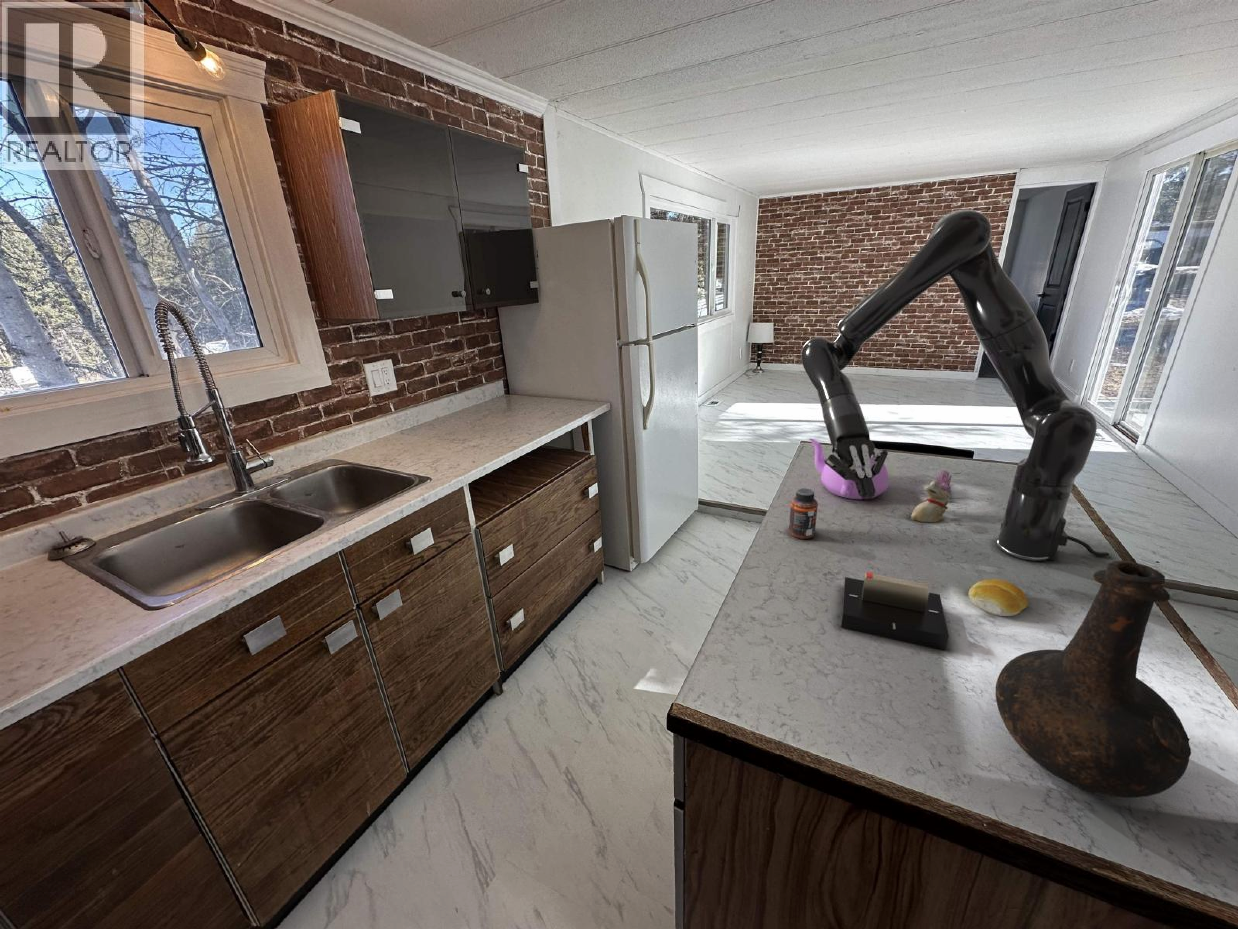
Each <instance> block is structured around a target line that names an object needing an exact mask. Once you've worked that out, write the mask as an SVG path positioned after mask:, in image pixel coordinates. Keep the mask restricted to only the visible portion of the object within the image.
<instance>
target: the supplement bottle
mask: <svg viewBox="0 0 1238 929" xmlns="http://www.w3.org/2000/svg"><path fill="white" fill-rule="evenodd" d="M818 505H819V504H818V500H816V499H815V491H814V490H812V489H811V488H805V487H802V488H801V487H800V488H798V489H796V493H795V496H794V497H792V498H791V501H790V510H789V525H788V532H789V534H790V535H791V536H792V537H794V538H797V539H801V540H806V539H807V540H808V539H811V538H813V537H814V536H815V534H816V525H817V516H818Z"/></svg>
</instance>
